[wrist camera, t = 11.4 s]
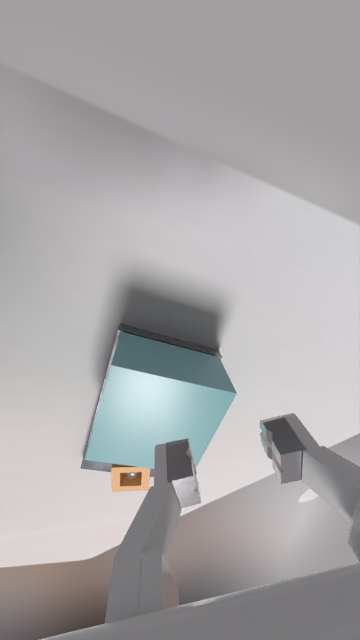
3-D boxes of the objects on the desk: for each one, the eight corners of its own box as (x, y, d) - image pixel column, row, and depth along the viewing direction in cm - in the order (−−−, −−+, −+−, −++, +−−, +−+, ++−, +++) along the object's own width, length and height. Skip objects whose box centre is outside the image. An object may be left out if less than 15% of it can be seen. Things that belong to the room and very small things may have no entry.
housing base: (163, 468, 36) (164, 511, 31) (83, 458, 33) (69, 503, 28) (218, 350, 28) (233, 379, 23) (120, 324, 25) (110, 350, 20)
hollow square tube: (149, 453, 32) (148, 490, 28) (118, 453, 31) (111, 491, 27) (151, 430, 30) (150, 466, 26) (118, 431, 30) (111, 467, 25)
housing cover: (185, 426, 30) (192, 473, 24) (100, 411, 28) (84, 459, 22) (219, 357, 26) (236, 393, 20) (122, 331, 24) (110, 365, 18)
